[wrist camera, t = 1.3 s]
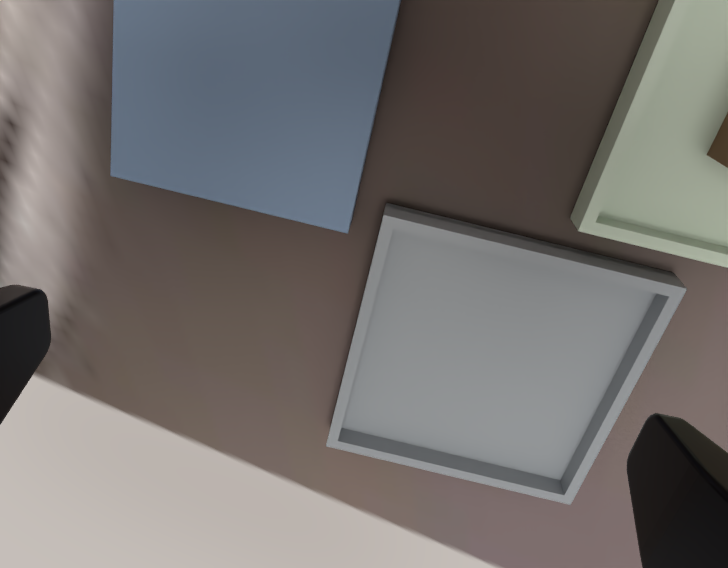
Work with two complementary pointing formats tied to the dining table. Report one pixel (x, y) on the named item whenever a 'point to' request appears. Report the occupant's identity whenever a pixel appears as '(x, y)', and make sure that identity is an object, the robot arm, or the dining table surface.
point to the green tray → (666, 141)
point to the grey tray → (495, 353)
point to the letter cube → (720, 145)
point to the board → (250, 100)
